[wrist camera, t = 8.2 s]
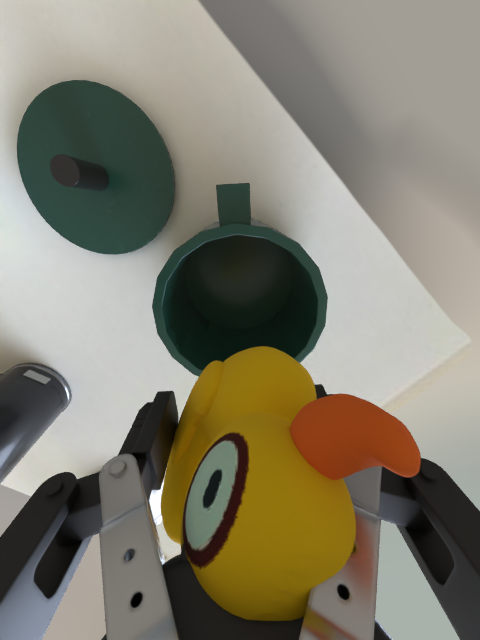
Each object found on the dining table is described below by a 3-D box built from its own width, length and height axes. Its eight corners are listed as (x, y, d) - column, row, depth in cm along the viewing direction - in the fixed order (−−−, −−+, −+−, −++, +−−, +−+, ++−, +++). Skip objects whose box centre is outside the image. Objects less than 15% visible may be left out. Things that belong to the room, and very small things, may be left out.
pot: (191, 351, 36) (173, 411, 26) (168, 195, 28) (127, 189, 18) (294, 346, 36) (318, 403, 26) (300, 187, 28) (339, 176, 18)
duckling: (267, 271, 12) (350, 448, 3) (346, 328, 14) (561, 570, 5) (156, 416, 16) (51, 690, 7) (227, 451, 17) (215, 720, 8)
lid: (56, 256, 31) (11, 268, 25) (-1, 90, 24) (-80, 52, 18) (185, 248, 31) (172, 259, 24) (162, 80, 24) (137, 37, 18)
